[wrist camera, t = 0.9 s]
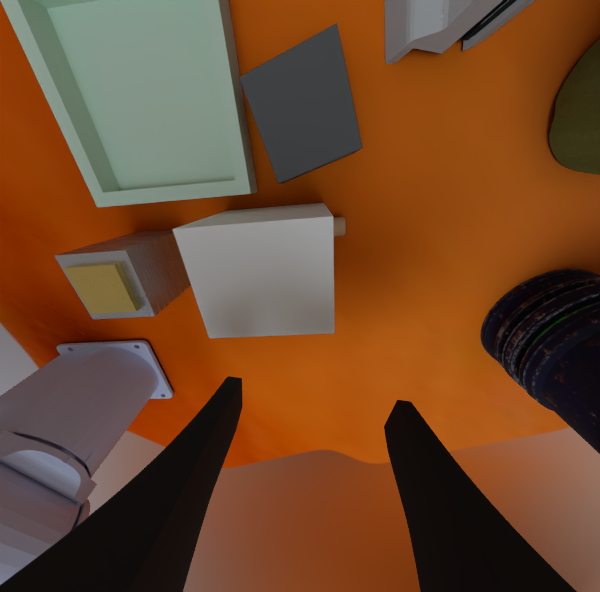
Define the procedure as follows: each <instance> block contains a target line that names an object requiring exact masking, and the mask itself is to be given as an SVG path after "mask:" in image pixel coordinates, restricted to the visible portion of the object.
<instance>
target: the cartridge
mask: <svg viewBox="0 0 600 592" xmlns="http://www.w3.org/2000/svg"><path fill="white" fill-rule="evenodd" d="M54 256H55V258H56V260H57V261H58V263H59V265H60V266H61V268H62V270H63V271H64V273H65V274H66V276H67V278H68V279H69V281H70V283H71V284H72V286H73V288H74V289H75V291H76V292H77V294H78V296H79V297H80V299H81V301H82V302H83V304H84V306H85V307H86V309H87V311H88V312H89V314H90V315H91V317H92V319H110V318H129V317H149V316H156V315H157V314H158V313H160V312H161V311H162V310H163V309H164V308H165V307H166V306H168V305H169V304H170V303H171V302H172V301H173V300H174V299H176V298H177V297H178V296H179V295H180V294H181V293H183V292H184V291H185V290H186V289H187V288H188V287H189V286H191V283H190V280H189V277H188V274H187V271H186V268H185V265H184V262H183V259H182V256H181V253H180V250H179V247H178V244H177V241H176V238H175V236H174V233H173V230H160V231H147V232H135V233H131V234H128V235H124V236H121V237H117V238H114V239H110V240H107V241H103V242H100V243H96V244H93V245H89V246H86V247H82V248H79V249H75V250H72V251H68V252H65V253H61V254H58V255H54Z"/></svg>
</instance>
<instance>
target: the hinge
mask: <svg viewBox="0 0 600 592" xmlns="http://www.w3.org/2000/svg"><path fill="white" fill-rule="evenodd" d="M534 1H535V0H385V64H393V63H396V62H397V61H398V60H399V59H401V58H402V57H403V56H404V55H406V54H407V53H408V52H409V51H410V50H412V49H413V48H415V49H420V50H425V51H431V52H436V53H441V54H442V53H443V52H445V51H446V50H447V49H448V48H449V47H450V46H451V45H453V44H454V43H455V42H456V41H457V40H458V39H459V38H461V37H462V41H463V51H465V50H467V49H469V48H471V47H473V46H475V45H477V44H479V43H480V42H482V41H484V40H485V39H486V38H488V37H489V36H490V35H492V34H493V33H494V32H495V31H497V30H498V29H499V28H501V27H502V26H503V25H504V24H506V23H507V22H508V21H510V20H511V19H512V18H513V17H515V16H516V15H517V14H519V13H520V12H521V11H522V10H524V9H525V8H526V7H527V6H529V5H530V4H531V3H533V2H534Z"/></svg>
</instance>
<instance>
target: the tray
mask: <svg viewBox="0 0 600 592" xmlns="http://www.w3.org/2000/svg"><path fill="white" fill-rule="evenodd" d="M0 1H1V3H2V5H3V7H4V9H5V11H6V13H7V15H8V18H9V20H10V22H11V24H12V26H13V28H14V30H15V33H16V35H17V37H18V39H19V41H20V43H21V45H22V48H23V50H24V52H25V54H26V56H27V58H28V60H29V62H30V65H31V67H32V69H33V71H34V73H35V75H36V77H37V80H38V82H39V84H40V86H41V88H42V90H43V92H44V94H45V97H46V99H47V101H48V103H49V105H50V107H51V109H52V112H53V114H54V116H55V118H56V120H57V122H58V124H59V126H60V129H61V131H62V133H63V135H64V137H65V139H66V141H67V144H68V146H69V148H70V150H71V152H72V154H73V156H74V159H75V161H76V163H77V165H78V167H79V169H80V171H81V173H82V176H83V178H84V180H85V182H86V184H87V186H88V188H89V191H90V193H91V195H92V197H93V199H94V201H95V203H96V205H97V207H108V206H119V205H131V204H142V203H153V202H164V201H176V200H187V199H198V198H209V197H221V196H232V195H243V194H252V193H257V192H258V190H257V183H256V177H255V170H254V164H253V157H252V151H251V144H250V137H249V131H248V124H247V118H246V111H245V105H244V98H243V92H242V85H241V81H240V78H239V77H240V72H239V65H238V59H237V52H236V46H235V39H234V33H233V26H232V20H231V13H230V6H229V0H0Z"/></svg>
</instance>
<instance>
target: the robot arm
mask: <svg viewBox="0 0 600 592" xmlns="http://www.w3.org/2000/svg"><path fill="white" fill-rule="evenodd" d="M56 349H57V351H58V352H59V353H60V355H59V356H58V357H56V358H55V359H53V360H52V361H50V362H49V363H48V364H46V365H45V366H43V367H42V368H40V369H39V370H37V371H36V372H34V373H33V374H32V375H31V376H29V377H27V378H26V379H25V380H23V381H22V382H20V383H19V384H17V385H16V386H14V387H13V388H11V389H10V390H8V391H7V392H6V393H4V394H3V395H1V396H0V592H183V589H184V585H185V582H186V578H187V575H188V571H189V568H190V564H191V561H192V557H193V554H194V551H195V547H196V544H197V540H198V537H199V533H200V530H201V527H202V523H203V520H204V517H205V513H206V510H207V507H208V504H209V501H210V498H211V495H212V492H213V489H214V486H215V484H216V481H217V478H218V476H219V473H220V470H221V468H222V465H223V463H224V460H225V457H226V455H227V452H228V450H229V447H230V444H231V442H232V439H233V436H234V434H235V431H236V428H237V424H238V421H239V417H240V413H241V409H242V378H236V377H227V378H226V379H225V381H224V382H223V383H222V385H221V386H220V387H219V389H218V390H217V391H216V392H215V394H214V395H213V396H212V397H211V399H210V400H209V401H208V402H207V403H206V405H205V406H204V407H203V408H202V409H201V410H200V412H199V413H198V414H197V415H196V416H195V417H194V418H193V420H192V421H191V422H190V423H189V424H188V425H187V426H186V427H185V428H184V429H183V430H182V431H181V433H180V434H179V435H178V436H177V437H176V438H175V439H174V440H173V441H172V442H171V443H170V444H169V445H168V446H167V447H166V448H165V449H164V450H163V451H162V452H161V453H160V454H159V455H158V456H157V457H156V458H155V459H154V460H153V461H152V462H151V463H150V464H149V465H147V466H146V467H145V468H144V469H143V470H142V471H141V472H140V473H139V474H138V475H137V476H136V477H135V478H133V479H132V480H131V481H130V482H129V483H128V484H127V485H125V486H124V487H123V488H122V489H121V490H120V491H119V492H117V493H116V494H115V495H114V496H113V497H112V498H111V499H109V500H108V501H107V502H106V503H105V504H103V505H102V506H101V507H100V508H99V509H97V510H96V511H95V512H94V513H92V514H91V515H90V516H89V512H90V503H89V500H88V499H87V498H88V496H89V495H90V494H91V492H92V491H93V489H94V488H95V486H96V485H97V484H96V483H95V482H94V481H92V480H91V477H92V476H93V474H94V473H95V472H96V470H97V469H98V468H99V466H100V465H101V463H102V462H103V461H104V459H105V458H106V457H107V456H108V454H109V453H110V452H111V450H112V449H113V447H114V446H115V445H116V443H117V442H118V441H119V439H120V438H121V436H122V435H123V434H124V432H125V431H126V430H127V429H128V427H129V426H130V424H131V423H132V422H133V420H134V419H135V418H136V416H137V415H138V414H139V412H140V411H141V410H142V408H143V407H144V406H145V404H146V403H147V401H148V400H149V399H163V398H171V397H172V396H173V394H174V393H173V391H172V389H171V387H170V385H169V383H168V381H167V379H166V377H165V375H164V373H163V371H162V369H161V367H160V365H159V363H158V361H157V359H156V357H155V355H154V353H153V351H152V349H151V347H150V345H149V343H148V342H146V341H144V340H137V341H113V342H90V343H66V344H60V345H58V346H57V347H56ZM384 429H385V436H386V442H387V448H388V453H389V457H390V461H391V464H392V468H393V472H394V475H395V479H396V483H397V486H398V490H399V493H400V497H401V501H402V504H403V508H404V511H405V515H406V519H407V524H408V528H409V532H410V537H411V542H412V547H413V552H414V557H415V562H416V568H417V573H418V579H419V585H420V590H421V592H576V591H575V590H574V589H573V588H572V587H571V586H570V585H569V584H568V583H567V582H566V581H565V580H564V579H563V578H562V577H561V576H560V575H559V574H558V573H557V572H556V571H555V570H554V569H553V568H552V567H551V566H550V565H549V564H548V563H547V562H546V561H545V560H544V559H543V558H542V557H541V556H540V555H539V554H538V553H537V552H536V551H535V550H534V549H533V548H532V547H531V546H530V545H529V544H528V543H527V541H526V540H525V539H524V538H523V537H522V536H521V535H520V534H519V533H518V532H517V531H516V530H515V529H514V528H513V527H512V526H511V525H510V523H509V522H508V521H507V520H506V519H505V518H504V517H503V516H502V515H501V514H500V513H499V511H498V510H497V509H496V508H495V507H494V506H493V505H492V504H491V503H490V501H489V500H488V499H487V498H486V497H485V496H484V495H483V494H482V492H481V491H480V490H479V489H478V488H477V487H476V485H475V484H474V483H473V482H472V480H471V479H470V478H469V477H468V476H467V475H466V473H465V472H464V471H463V470H462V468H461V467H460V466H459V465H458V463H457V462H456V461H455V460H454V458H453V457H452V456H451V455H450V453H449V452H448V451H447V449H446V448H445V447H444V445H443V444H442V443H441V442H440V440H439V439H438V438H437V436H436V435H435V434H434V432H433V431H432V430H431V428H430V427H429V426H428V424H427V423H426V422H425V420H424V419H423V418H422V416H421V415H420V413H419V412H418V411H417V409H416V408H415V407H414V405H413V404H412V403H411V402H409V401H402V400H397V402H396V404H395V406H394V408H393V410H392V412H391V414H390V416H389V418H388V420H387V422H386V424H385V426H384ZM88 516H89V517H88Z"/></svg>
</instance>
